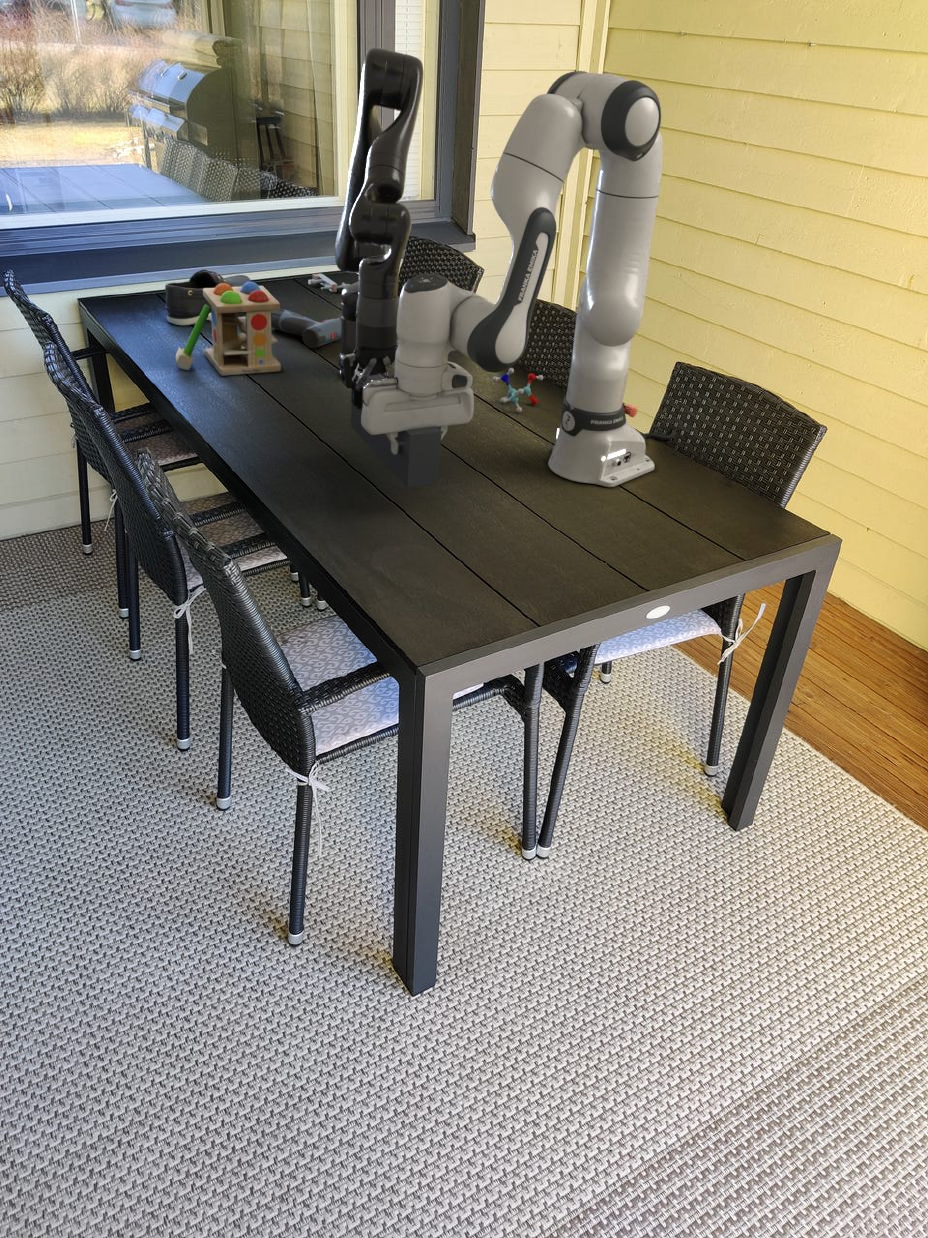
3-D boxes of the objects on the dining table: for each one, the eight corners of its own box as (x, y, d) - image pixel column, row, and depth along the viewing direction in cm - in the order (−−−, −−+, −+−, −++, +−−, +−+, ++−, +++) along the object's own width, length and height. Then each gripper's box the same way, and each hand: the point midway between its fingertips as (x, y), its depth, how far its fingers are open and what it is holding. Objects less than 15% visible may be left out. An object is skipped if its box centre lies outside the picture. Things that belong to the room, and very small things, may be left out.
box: (350, 426, 192) (352, 377, 187) (379, 423, 195) (381, 374, 189) (406, 488, 173) (410, 434, 167) (437, 483, 176) (441, 430, 170)
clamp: (303, 274, 289) (334, 272, 294) (303, 281, 290) (334, 279, 295) (323, 288, 279) (355, 286, 283) (323, 296, 280) (355, 294, 285)
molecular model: (539, 404, 216) (525, 360, 215) (500, 418, 220) (486, 375, 218) (551, 402, 227) (538, 360, 225) (514, 416, 230) (501, 374, 229)
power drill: (305, 316, 264) (364, 334, 256) (257, 332, 251) (318, 351, 243) (305, 296, 261) (365, 314, 253) (257, 311, 248) (318, 330, 240)
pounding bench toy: (183, 379, 220) (176, 299, 210) (169, 357, 231) (162, 280, 221) (282, 371, 230) (280, 294, 220) (264, 350, 240) (262, 276, 230)
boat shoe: (273, 303, 272) (271, 265, 267) (185, 327, 248) (181, 285, 243) (238, 295, 278) (236, 257, 272) (149, 317, 254) (144, 276, 249)
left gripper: (347, 327, 172) (345, 417, 182) (421, 322, 178) (416, 409, 188) (332, 314, 178) (331, 401, 187) (404, 309, 184) (400, 394, 193)
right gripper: (370, 387, 160) (368, 465, 167) (481, 376, 168) (474, 450, 176) (356, 374, 164) (354, 450, 172) (464, 363, 173) (458, 436, 180)
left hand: (373, 405), depth 187 cm, fingers closed on box, 6 cm apart
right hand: (415, 450), depth 174 cm, fingers closed on box, 6 cm apart
